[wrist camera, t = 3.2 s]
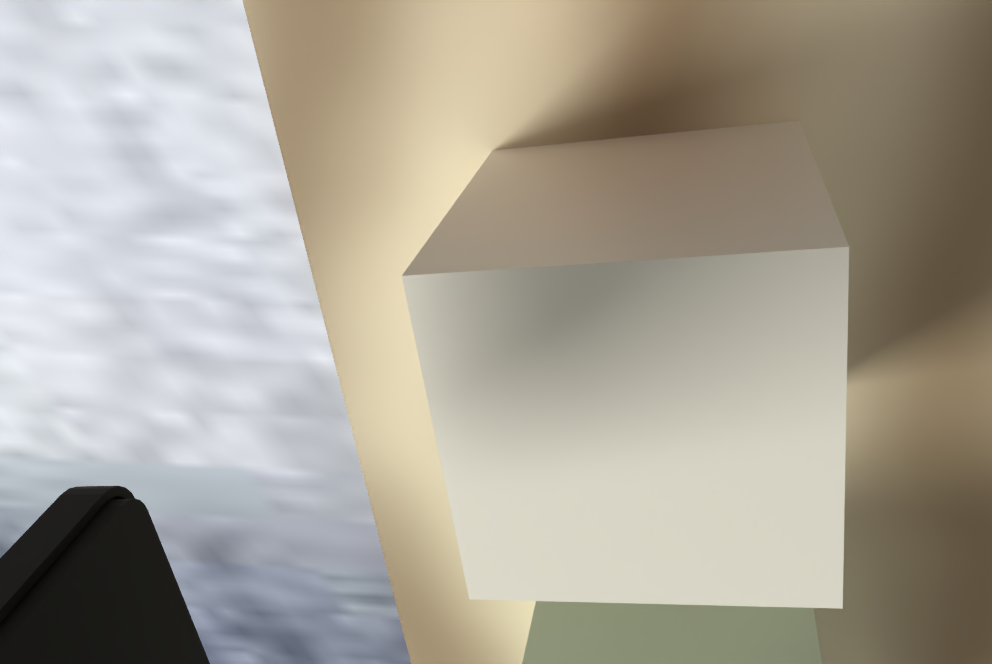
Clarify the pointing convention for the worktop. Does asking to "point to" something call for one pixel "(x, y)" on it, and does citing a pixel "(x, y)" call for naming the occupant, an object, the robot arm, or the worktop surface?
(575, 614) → the brick
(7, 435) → the worktop surface
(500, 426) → the off-white cube
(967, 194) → the base board
